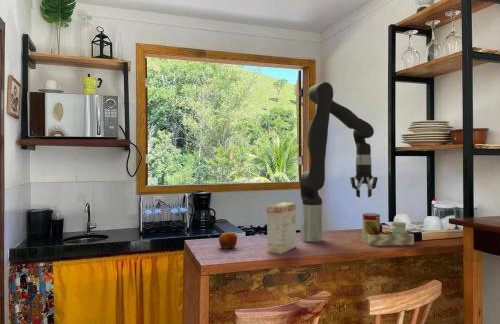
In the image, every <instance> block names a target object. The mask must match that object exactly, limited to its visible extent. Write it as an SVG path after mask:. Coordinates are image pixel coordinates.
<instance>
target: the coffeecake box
mask: <svg viewBox="0 0 500 324" xmlns="http://www.w3.org/2000/svg"><path fill="white" fill-rule="evenodd" d="M296 211H297V210H296V202H288V201H287V202H286V201H284V202H278V203H273V204H269V205H267V206H266V229H267V230H266V237H267V240H266V241H267V242H266V243H267V247H266V248H267V253H269V254H270V253H272V254H273V253H274V254H279V255H282V254H284V253H286V252H288V251H290V250H293V249H294V248H296V247H297V233H296V232H297V226H296V225H297V224H296V222H297V221H296V220H297V219H296V217H297V215H296V214H297V213H296Z"/></svg>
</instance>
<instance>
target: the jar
mask: <svg viewBox="0 0 500 324" xmlns="http://www.w3.org/2000/svg"><path fill="white" fill-rule="evenodd" d="M406 225H407V224H406V222H403V221H394V222H393V221H392V233H393V234H396V235H406V232H407V230H406V229H407V228H406Z"/></svg>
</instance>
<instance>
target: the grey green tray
mask: <svg viewBox="0 0 500 324" xmlns="http://www.w3.org/2000/svg"><path fill="white" fill-rule="evenodd" d="M361 242H362V243H364V244H366V245H368V246H373V247H374V246H412V245H415V236H414V234H413V233H410V232H407V231H406V235H396V234H393V232H391V231H389V230H386V231H385V234H380V235H369V234H367V233H365V232H363V230H362V231H361Z"/></svg>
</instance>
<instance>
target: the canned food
mask: <svg viewBox="0 0 500 324" xmlns="http://www.w3.org/2000/svg"><path fill="white" fill-rule="evenodd" d="M380 218H381V214H380V213H376V212H375V213H374V212H367V213H366V212H365V213H362V231H363V232H365V233H367V234H369V235H381V222H380V220H381V219H380Z"/></svg>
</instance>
